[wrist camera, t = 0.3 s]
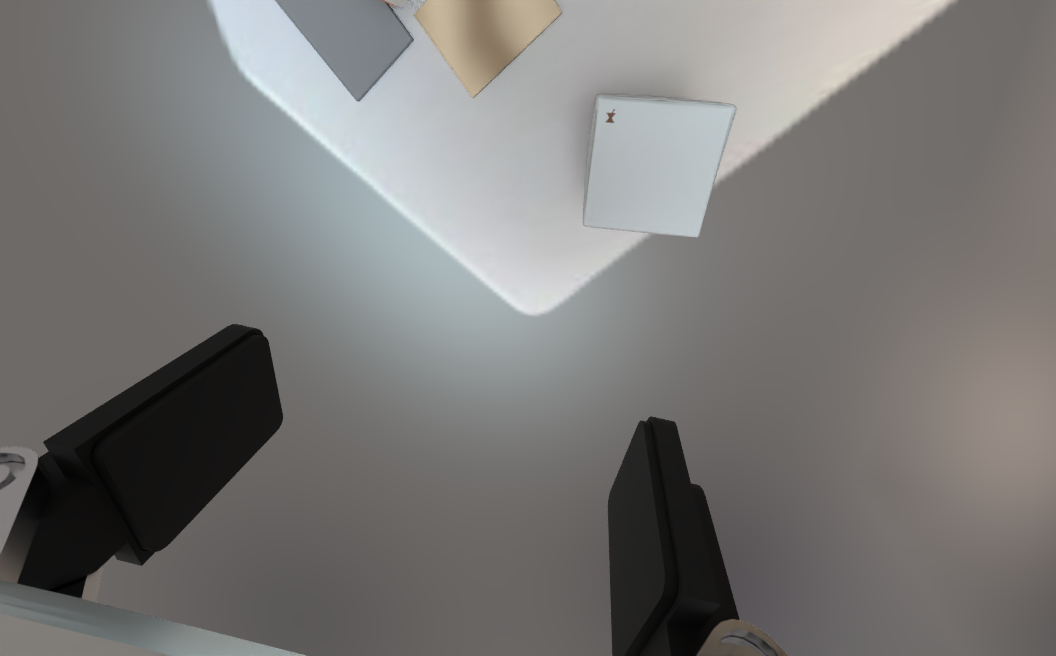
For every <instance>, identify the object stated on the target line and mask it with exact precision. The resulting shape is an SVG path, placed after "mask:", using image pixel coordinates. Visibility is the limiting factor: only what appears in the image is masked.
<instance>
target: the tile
mask: <svg viewBox="0 0 1056 656" xmlns="http://www.w3.org/2000/svg"><path fill="white" fill-rule="evenodd" d="M381 1H383V2H385V3H388V4H390V5H392V6H394V7H395V6H398V7H400V8H403V7H404V5H405V4H406V3H407V2H408V1H409V0H381Z"/></svg>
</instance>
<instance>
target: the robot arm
mask: <svg viewBox="0 0 1056 656" xmlns="http://www.w3.org/2000/svg"><path fill="white" fill-rule="evenodd" d="M282 420H283V413H282V408H281V403H280V398H279V393H278V388H277V383H276V378H275V372H274V367H273V362H272V357H271V352H270V347H269V342H268V340H267V338H266V337H264V335H263V333H262V332H261V330H259V329H256V328H252V327H246V326H243V325H238V324H232V325H230V326H227V327H226V328H224V329H223V330H221V331H220V332H218V333H217V334H215V335H213V336H212V337H210V338H209V339H207V340H205V341H204V342H202V343H200V344H199V345H197V346H196V347H194V348H192V349H191V350H189V351H188V352H186V353H184V354H183V355H181V356H180V357H178V358H176V359H175V360H173V361H172V362H170V363H168V364H167V365H165V366H164V367H162V368H160V369H159V370H157V371H156V372H154V373H152V374H151V375H150V376H148V377H146V378H145V379H143V380H141V381H140V382H138V383H136V384H135V385H133V386H132V387H130V388H128V389H127V390H125V391H124V392H122V393H121V394H119V395H117V396H116V397H114V398H112V399H111V400H109V401H108V402H106V403H104V404H103V405H101V406H100V407H98V408H96V409H95V410H93V411H92V412H90V413H88V414H87V415H85V416H84V417H82V418H80V419H79V420H77V421H76V422H74V423H72V424H71V425H70V426H68V427H66V428H64V429H63V430H61V431H60V432H58V433H56V434H55V435H53V436H52V437H50V438H48V439H47V440H45V441H44V442H43V443H44V444H45V446H46V448H47V449H48V451H49V452H47V453H46V454H44V455H43V456H41V457H40V458H39V457H38V456H37V454H36V453H35V452H34V451H33V450H31V449H27V448H25V447H10V446H9V447H1V448H0V656H306V655H302V654H298V653H294V652H290V651H286V650H282V649H278V648H274V647H271V646H267V645H262V644H259V643H255V642H251V641H247V640H243V639H239V638H235V637H231V636H227V635H224V634H220V633H216V632H212V631H208V630H204V629H200V628H196V627H192V626H188V625H184V624H180V623H176V622H172V621H168V620H164V619H160V618H156V617H152V616H148V615H144V614H140V613H136V612H132V611H128V610H124V609H120V608H116V607H112V606H108V605H104V604H100V603H96V599H97V594H98V589H99V584H100V580H101V575H102V570H103V566H104V564H105V563H106V562H107V561H108V560H109V559H110V558H111V557H112V556H113V555H115V556H116V558H117V560H121V561H125V562H129V563H133V564H137V565H141V566H142V565H143V564H144V563H145V562H146V561H147V560H148V559H149V558H150V557H151V556H152V555H153V554H154V553H155V552H157V551H160V550H162V549H164V548H165V547H166V546H168V544H170V543H171V542H172V541H173V540H174V538H176V536H177V535H178V534H179V533H180V532H181V531H182V530H183V529H184V528H185V527H186V526H187V525H188V524H189V523H190V522H191V521H192V520H193V518H195V516H196V515H197V514H198V513H199V512H200V511H201V510H202V509H203V508H204V507H205V506H206V505H207V504H208V503H209V502H210V501H211V500H212V498H213V497H215V495H216V494H217V493H218V492H219V491H220V490H221V489H222V488H223V487H224V486H225V485H226V484H227V483H228V482H229V481H230V480H231V479H232V477H234V476H235V474H236V473H237V472H238V471H239V470H240V469H241V468H242V467H243V466H244V465H245V464H246V463H247V462H248V461H249V460H250V459H251V458H252V456H253V455H254V454H255V453H256V452H257V451H258V450H259V449H260V448H261V447H262V446H263V445H264V444H265V443H266V442H267V441H268V440H269V439H270V438H271V437H272V436H273V434H274V433H275V432H276V431H277V430H278V429H279V427H280V426H281V424H282ZM608 524H609V525H608V526H609V558H610V588H611V624H612V655H613V656H787V654H786V653H785V651H784V650H783V649H782V648H781V647H780V646H779V645H778V644H777V643H776V642H775V641H774V639H772V638H771V637H770V636H769V635H768V634H766V633H765V632H764V631H762V630H761V629H760V628H758V627H756V626H754V625H752V624H750V623H747V622H746V621H740V620H739V616H738V613H737V609H736V605H735V602H734V598H733V594H732V591H731V587H730V584H729V580H728V576H727V573H726V569H725V565H724V562H723V558H722V554H721V551H720V547H719V544H718V540H717V537H716V533H715V529H714V525H713V522H712V518H711V515H710V511H709V507H708V504H707V500H706V496H705V494H704V491H703V489H702V488H701V487H700V486H699V485H696V484H691V482H690V478H689V474H688V470H687V466H686V462H685V458H684V454H683V450H682V446H681V442H680V438H679V434H678V430H677V426H676V423H675V422H674V421H669V420H665V419H660V418H656V417H649V418H648V420H647V422H645V421H640V422H639V424H638V426H637V428H636V431H635V433H634V435H633V438H632V440H631V443H630V445H629V448H628V450H627V452H626V455H625V457H624V460H623V462H622V465H621V467H620V469H619V472H618V474H617V477H616V479H615V481H614V484H613V486H612V489H611V491H610V495H609V500H608Z"/></svg>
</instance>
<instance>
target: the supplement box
mask: <svg viewBox="0 0 1056 656" xmlns="http://www.w3.org/2000/svg"><path fill="white" fill-rule="evenodd" d="M735 112H736V106H735V105H732V104H727V103H721V102H712V101H701V100H691V99H681V98H669V97H656V96H641V95H615V94H597V95H596V100H595V106H594V112H593V119H592V126H591V132H590V139H589V147H588V155H587V165H586V176H585V193H584V208H583V225H584V226H586V227H594V228H603V229H612V230H623V231H633V232H643V233H653V234H664V235H675V236H687V237H698V236H699V233H700V229H701V225H702V221H703V218H704V215H705V211H706V207H707V203H708V200H709V197H710V194H711V191H712V187H713V184H714V181H715V178H716V174H717V171H718V168H719V165H720V161H721V158H722V155H723V151H724V148H725V145H726V142H727V138H728V135H729V132H730V129H731V125H732V122H733V119H734V116H735Z"/></svg>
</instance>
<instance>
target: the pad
mask: <svg viewBox="0 0 1056 656" xmlns="http://www.w3.org/2000/svg"><path fill="white" fill-rule="evenodd" d="M561 14H562V12H561V10H560V8H559V7H558V5H557V3H556V2H555V0H426V1H425V2H424V4H423V5H422V6H421V7H420V8H419V9H418V11H417V12H416V13H415V14H414V16H415V18H416V19H417V21H418V22H419V23H420V25H421V26H422V28H423V29H424V30H425V32H426V33H427V35H428V36H429V37H430V39H431V40H432V42H433V43H434V44H435V46H436V47H437V49H438V50H439V52H440V53H441V54H442V56H443V57H444V59H445V60H446V61H447V63H448V64H449V66H450V67H451V68H452V70H453V71H454V73H455V74H456V75H457V77H458V78H459V80H460V81H461V82H462V84H463V85H464V87H465V88H466V90H467V91H468V92H469V94H470V95H471V97H472V98H474V97H475V96H476V95H477V94H478V93H479V92H480V91H481V90H482V89H483V88H484V87H485V86H486V85H487V84H489V83H490V82H491V81H492V80H493V79H494V78H495V77H496V76H497V75H498V74H499V73H500V72H501V71H502V70H503V69H504V68H505V67H506V66H507V65H508V64H509V63H510V62H511V61H513V60H514V59H515V58H516V57H517V56H518V55H519V54H520V53H521V52H522V51H523V50H524V49H525V48H526V47H527V46H528V45H529V44H530V43H531V42H532V41H533V40H534V39H536V38H537V37H538V36H539V35H540V34H541V33H542V32H543V31H544V30H545V29H546V28H547V27H548V26H549V25H550V24H551V23H552V22H553V21H554V20H555V19H556V18H557V17H558V16H560V15H561Z"/></svg>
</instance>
